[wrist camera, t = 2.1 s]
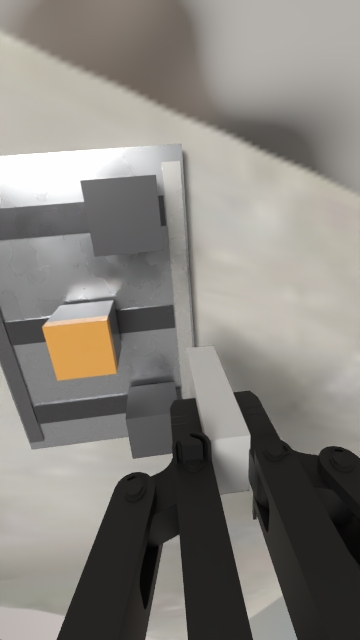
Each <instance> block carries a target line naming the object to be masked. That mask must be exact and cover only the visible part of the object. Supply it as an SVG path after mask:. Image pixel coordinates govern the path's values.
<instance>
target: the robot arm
mask: <svg viewBox="0 0 360 640" xmlns="http://www.w3.org/2000/svg"><path fill="white" fill-rule="evenodd" d="M186 351H187V364H188V377H189V390H190V395H191V398H189V399H181V400H174V401H173V403H172V405H171V407H170V417H171V430H172V442H173V444H172V453H173V458H172V461H171V463H170V464H169V466H168V467H167V468H166V469H164V470H163V471H161V472H160V473H158V474H155V475H153V476H151V477H150V476H149V475H148V474H145V473H142V472H135V473H131V474H129V475H126V476H125V477H123V478H122V479H121V480H120V481H119V482H118V484H117V485H116V487H115V489H114V492H113V494H112V497H111V500H110V502H109V505H108V507H107V510H106V513H105V515H104V518H103V520H102V523H101V526H100V528H99V531H98V533H97V536H96V539H95V541H94V544H93V546H92V549H91V552H90V554H89V557H88V559H87V562H86V565H85V567H84V570H83V572H82V575H81V578H80V580H79V583H78V585H77V588H76V591H75V593H74V596H73V598H72V601H71V604H70V606H69V609H68V611H67V614H66V617H65V620H64V622H63V624H62V627H61V630H60V632H59V635H58V638H57V640H145V638H146V632H147V627H148V621H149V616H150V611H151V605H152V600H153V595H154V589H155V584H156V578H157V573H158V568H159V562H160V557H161V552H162V546H163V543H164V542H166V541H168V540H170V539H172V538H174V537H175V536H177V535H179V534H180V546H181V559H182V571H183V583H184V596H185V608H186V620H187V632H188V640H253V638H252V633H251V629H250V625H249V620H248V616H247V611H246V607H245V603H244V598H243V594H242V590H241V585H240V581H239V576H238V572H237V568H236V563H235V559H234V555H233V550H232V546H231V542H230V537H229V533H228V528H227V524H226V520H225V515H224V511H223V507H222V502H221V498H220V494H228V493H235V492H243V491H249V482H250V485H251V487H252V490H253V520H254V519H256V516H257V517H258V520H259V523H260V526H261V529H262V532H263V535H264V538H265V541H266V544H267V547H268V550H269V554H270V557H271V560H272V563H273V566H274V569H275V572H276V575H277V578H278V581H279V584H280V587H281V590H282V593H283V596H284V599H285V602H286V606H287V609H288V612H289V615H290V618H291V621H292V624H293V627H294V630H295V633H296V636H297V639H298V640H360V458H359V457H358V456H357V455H355V454H354V453H352V452H351V451H349V450H347V449H344V448H342V447H336V446H331V447H326V448H324V449H323V450H321V452H320V455H319V456H318V455H311V454H304V453H300V452H297V451H294V450H292V449H291V447H290V446H289V445H288V444H287V443H285V442H283V441H282V440H280V438H279V436H278V435H277V433H276V431H275V429H274V427H273V425H272V423H271V421H270V419H269V418H268V416H267V414H266V412H265V410H264V408H263V407H262V404H261V402H260V400H259V399H258V397H257V396H256V395H254V394H253V393H252V392H251V391H243V392H234V393H233V391H232V389H231V387H230V384H229V382H228V379H227V377H226V375H225V372H224V370H223V367H222V365H221V362H220V360H219V358H218V355H217V353H216V350H215V348H214V345H212V346H203V347H193V348H186Z"/></svg>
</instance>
